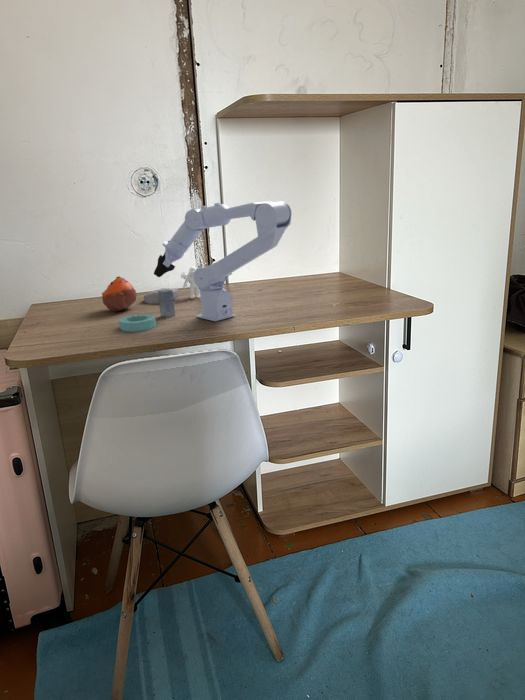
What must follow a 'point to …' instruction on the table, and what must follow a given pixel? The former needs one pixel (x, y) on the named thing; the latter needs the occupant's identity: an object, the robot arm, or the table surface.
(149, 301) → the stone block
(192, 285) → the blocky character figurine
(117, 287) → the orange rounded figure
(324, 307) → the table surface
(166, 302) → the dark metal rectangular bar
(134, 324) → the teal creased ring
